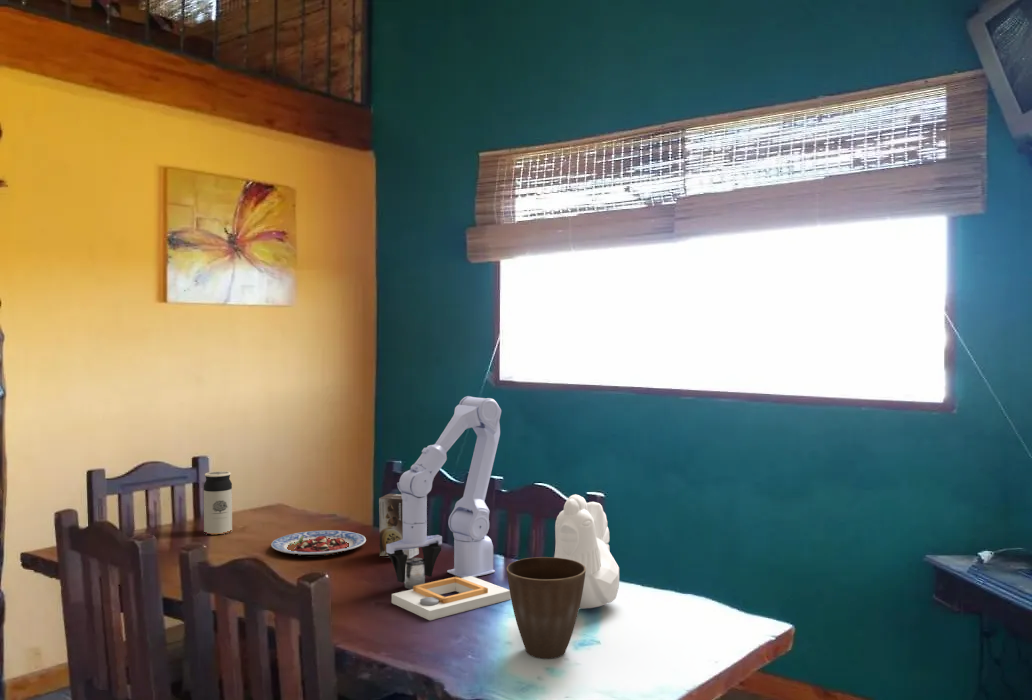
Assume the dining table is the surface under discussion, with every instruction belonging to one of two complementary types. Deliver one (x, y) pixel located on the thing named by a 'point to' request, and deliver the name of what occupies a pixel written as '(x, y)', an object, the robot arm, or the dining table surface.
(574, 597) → the plant pot
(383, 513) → the coffee box
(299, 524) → the dining table surface
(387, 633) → the dining table surface
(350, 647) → the dining table surface
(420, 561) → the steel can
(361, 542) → the ceramic plate
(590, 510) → the decorative rooster
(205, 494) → the travel mug
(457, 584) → the white flat frame
